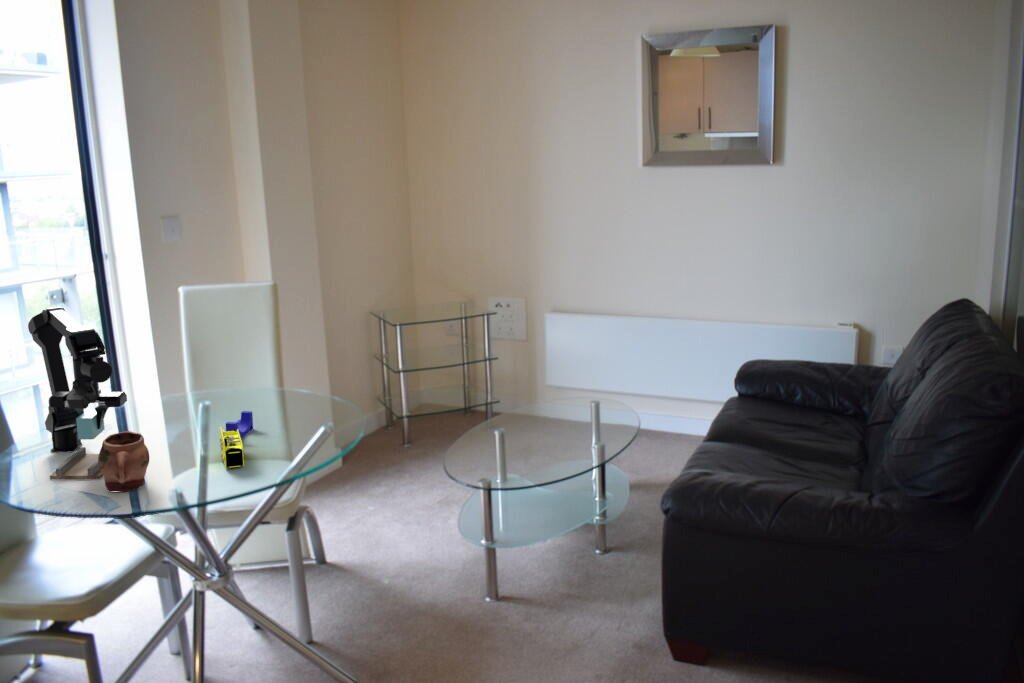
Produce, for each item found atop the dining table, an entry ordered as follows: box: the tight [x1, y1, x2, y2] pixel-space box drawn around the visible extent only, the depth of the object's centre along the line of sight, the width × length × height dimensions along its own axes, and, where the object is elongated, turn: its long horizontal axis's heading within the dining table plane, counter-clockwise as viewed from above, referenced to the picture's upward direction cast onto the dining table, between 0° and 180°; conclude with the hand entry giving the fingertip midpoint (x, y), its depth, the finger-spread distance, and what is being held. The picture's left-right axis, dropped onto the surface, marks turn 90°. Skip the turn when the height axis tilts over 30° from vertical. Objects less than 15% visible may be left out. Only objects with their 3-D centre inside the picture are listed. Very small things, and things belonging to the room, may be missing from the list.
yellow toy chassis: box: [219, 426, 245, 469], centre depth 248 cm, size 16×6×8 cm, turn 22°
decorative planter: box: [98, 430, 150, 492], centre depth 226 cm, size 20×12×14 cm, turn 25°
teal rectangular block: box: [76, 408, 106, 440], centre depth 239 cm, size 4×8×6 cm, turn 5°
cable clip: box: [225, 410, 254, 439], centre depth 268 cm, size 12×4×6 cm, turn 171°
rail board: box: [49, 446, 104, 480], centre depth 240 cm, size 13×16×3 cm
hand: (91, 428), depth 239 cm, fingers closed on teal rectangular block, 4 cm apart
